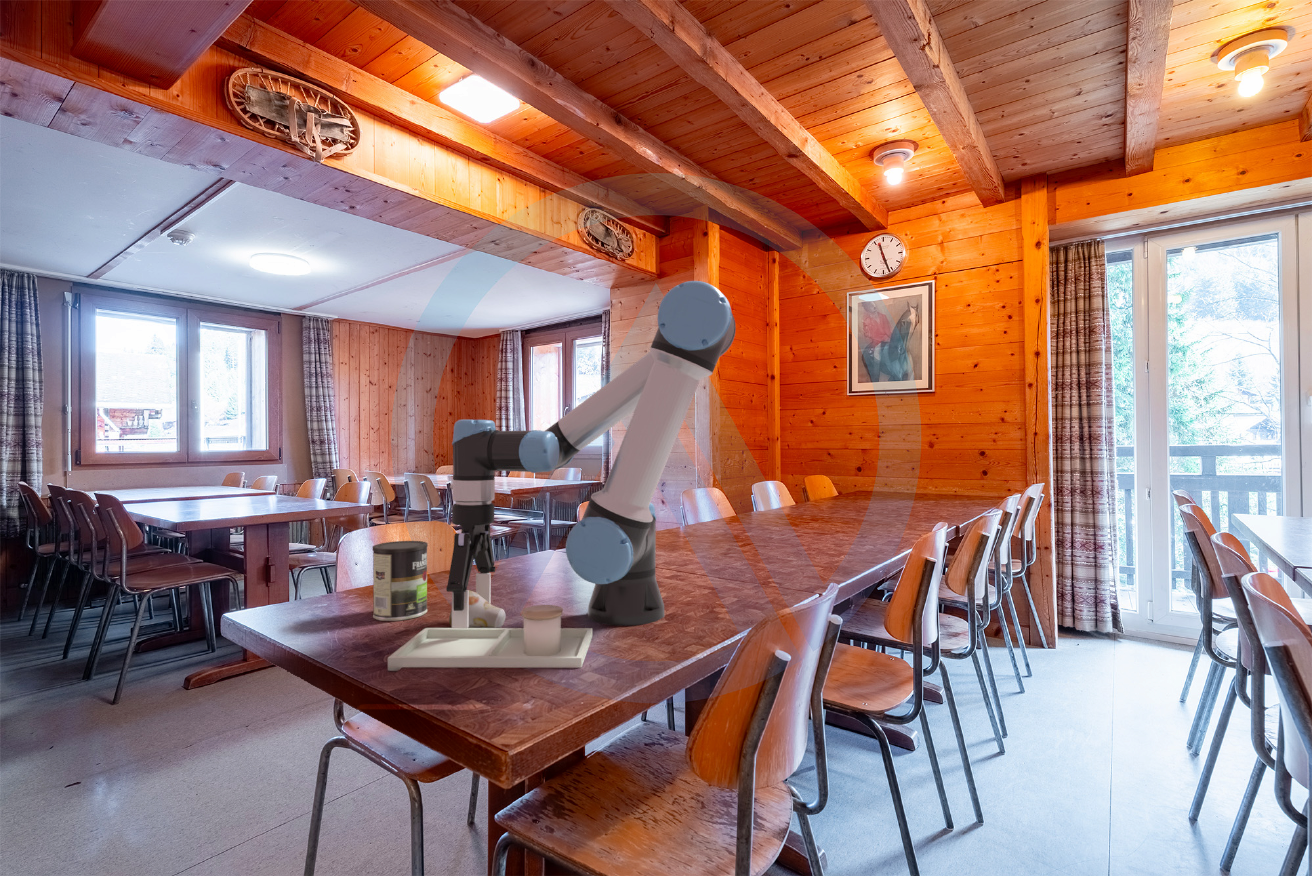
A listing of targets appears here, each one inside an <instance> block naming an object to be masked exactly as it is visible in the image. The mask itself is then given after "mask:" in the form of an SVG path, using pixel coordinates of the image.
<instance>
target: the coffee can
mask: <svg viewBox="0 0 1312 876" xmlns="http://www.w3.org/2000/svg"><path fill="white" fill-rule="evenodd" d="M428 546H429V543H428V542H426V541H421V540H399V541H388V542H382V543H377V544H375V545H373V546H372V551H373V552H372V553H373V554H372V559H373V561H372V562H373V564H372V565H373V567H372V569H373V572H372V573H373V576H372V578H373V579H372V581H373V582H372V583H373V587H372V588H373V593H372V594H373V596H372V597H373V610H372V611H373V612H372V613H373V615H372V618H373V619H374V620H377V621H383V622H398V621H405V620H406V621H407V620H411V619H416V618H420V617H422V616H424V615H426V614H427V613H428Z"/></svg>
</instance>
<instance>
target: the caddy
mask: <svg viewBox="0 0 1312 876" xmlns="http://www.w3.org/2000/svg"><path fill="white" fill-rule="evenodd" d="M592 638H593V628H592V627H584V628H583V627H582V628H581V627H573V628H572V627H563V628H562V627H561V651H560V652H559V653H557V654H555V655H552V656H528V655H526V654H524V627H498V628H487V627H476V628H467V629H459V628H452V627H424V628H423V629H422V630H421V631H420V632H418V633H417V634H416V635H414V636H413V637H412V638H410V640H409V641H406V642H405V644H403V645H402V646H401V647H399V648H398V649H397V650H395V651H394V652H393V653H392V654H391V655H390V656H388V657H387V671H388V672H390V671H391V672H398V671H400V670H401V669H402V668H512V669H513V668H521V669H522V668H523V669H524V668H525V669H526V668H527V669H528V668H531V669H532V668H533V669H534V668H539V669H540V668H543V669H544V668H545V669H546V668H548V669H549V668H555V669H556V668H561V669H562V668H564V669H565V668H566V669H567V668H568V669H569V668H570V669H571V668H573V669H574V668H575V669H577V668H578V669H579V668H580V669H581V668H582V667H583V665H584V661H585V659H586V656H587V653H588V650H589V648H590V645H591V643H592Z"/></svg>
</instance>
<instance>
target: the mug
mask: <svg viewBox="0 0 1312 876" xmlns="http://www.w3.org/2000/svg"><path fill="white" fill-rule="evenodd" d="M468 590H469V627H468V628H502V627H503V625H504V623H505V620H506V616H507V615H506V612H505V610H504V609H503V608H500V607H499V606H496V605H493V604H490V603H488V602H487V601H486V600H485V599H484V598H483V597H481V596H480V595H479V594H477V593H476V591H473V590H471V589H468ZM450 610H451V611H450V612H449V617H448V618H449V619H448V621H449V625H450V626H451V627H452V609H450Z"/></svg>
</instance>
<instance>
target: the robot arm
mask: <svg viewBox="0 0 1312 876" xmlns="http://www.w3.org/2000/svg"><path fill="white" fill-rule="evenodd" d="M657 325H658V327H657V330H656V332H655V335H654V337H653V341H652V342H651V345H650V348H649V352H648V353H646V354H645V355H644V356H642V357H641V358H640V359H638V360H637V361H636V362H635V363H633V364H632V365H630V366H629V367H628V368H627V369H625V370H624V371H622V372H621V373H620V374H618V375H617V376H616V377H615V378H613V379H611V381H609V382H608V383H607V384H605V385H604V386H602V387H601V388H600V389H598V390H597V391H595V392H594V393H593V394H591V395H590V396H589V397H588V398H586V399H585V400H584V401H582V402H581V403H580V404H579V405H576V407H574V408H573V409H572V410H570V411H569V412H568V413H567V414H565V415H563V417H561V418H559V420H557V422H555V423H553V424H552V425H550V427H548V428H547V429H545V430H539V429H538V430H537V429H535V430H497V428H496V422H495V421H493V420H491V419H458V420H457V421H455V422H454V426H453V435H452V442H451V445H452V473H453V474H452V483H451V484H450V486H449V488H450V489H451V490H452V501H453V502H455V503H454V504H452V506H451V508H452V509H451V511H452V512H451V513H452V514H451V522H452V524H453V525H456V526H460V527H461V532H460V533H459V532H458V533H454V536H453V537H454V539H453V549H452V550H453V551H452V555H451V562H450V566H449V567H450V568H449V573H448V580H447V585H446V588H445V589H446V590H445V591H446V592H447V593H448V592H451V610H452V626H451V628H459V629H467V628H468V627H469V590H470V589H468V585H469V582H470V581H469V580H470V576H471V573H472V568H473V564H474V563H475V565H476V569H477V571H478V572H476V574H475V592H476V593H477V594H479V595H480V596H481V597H483V598H484V599H485V600H486V601H487V602H488V603H490V604H491V599H492V597H491V595H492V592H491V591H492V588H491V587H492V586H491V585H492V582H491V581H492V578H491V577H492V573H495V572H496V566H495V560H494V559H495V558H494V552H493V551H494V550H493V546H492V545H493V544H492V537H491V525H492V524H493V523H494V521H495V504H494V503H493V502H492V501H494V500H495V499H496V497H495V496H496V495H495V494H496V492H495V487H496V484H495V482H496V480H495V478H496V477H495V474H496V472H521V473H525V472H526V473H527V472H528V473H532V474H536V473H546V472H548V473H549V472H552V471H553V470H557V469H561V468H563V467H565V466H567V465H569V464H570V463H571V462H572V460H573V459H574V457H575V455H577V454H578V453H579V452H580V451H582V450H583V449H585V448H586V447H587V446H588V445H590V444H591V443H593V442H594V441H596V439H598V438H599V437H600V436H602V435H603V434H605V433H606V432H608V431H609V430H610V429H612V428H613V427H615V426H616V425H618V424H619V423H620V422H621V421H623V420H624V419H625V418H627V417H628V416H630V415H631V414H632V413H633V414H632V416H631V419H630V422H629V423H628V427H627V428H626V432H625V434H624V436H623V438H622V439H623V440H622V441H621V444H620V446H619V449H618V451H617V454H616V456H615V459H614V461H613V464H612V467H611V469H610V472H609V474H608V477H607V479H606V481H605V484H604V486H603V488H602V489H601V490H599V491H596V492H593V493H591V495H590V498H589V501H588V503H587V506H586V508H585V510H584V512H583V516H582V519H580V520H579V521H577V522H576V524H574V525H573V527H572V528H571V530H570V531H569V533H568V535H567V538H566V543H565V554H566V558H567V561H568V563H569V565H570V568H571V569H572V570H573V571H574V572H575V574H576V575H578V577H580V578H581V579H582V580H584V581H586V582H588V583H591V584H594V587H593V590H592V594H591V597H590V600H589V603H588V607H587V611H588V612H587V613H588V619H590V621H593V622H595V623H598V624H603V625H608V626H622V627H628V626H629V627H630V626H631V627H633V626H642V625H647V624H652V623H655V622H657V621H660V620H661V619H663V618H665V602H664V601H663V597H662V594H661V591H660V588H659V585H658V582H657V581H658V580H657V579H656V577H657V576H656V549H657V548H656V543H657V542H656V540H657V539H656V533H657V532H656V530H657V529H656V522H657V515H656V507H655V504H654V503H652V499H653V497H654V495H655V492H656V489H657V487H658V485H659V483H660V481H661V479H662V478H661V477H662V475H663V472H664V470H665V467H666V465H667V462H668V460H669V457H670V455H671V454H672V450H673V448H674V446H675V443H676V441H677V439H678V436H679V433H680V431H681V429H682V426H683V423H684V421H685V419H686V416H687V414H688V411H689V409H690V408H691V407H690V406H691V404H692V401H693V399H694V396H695V394H696V391H697V389H698V387H699V384H700V382H701V381H702V380H703V379H705V378H707V377H709V376H712V375H713V373H714V370H715V368H716V366H717V363H718V361H719V360H720V359H719V358H720V357H722V356H723V355H724V354H725V353H727V351H728V350H729V349H730V347H731V346H732V344H733V342H734V339H735V336H736V330H737V329H736V328H737V327H736V320H735V317H734V314H733V313H732V308H731V305H730V302H729V300H728V299H727V297H726V296H725V295H724V293H723V292H721V291H720V289H718V288H717V287H715V286H714V285H712V284H710V283H707V282H705V281H700V280H690V281H689V280H688V281H684V282H682V283H680V284H678V285H675V286H674V287H672V288H671V289H669V291H668V292H666V294H665V295H664V297H663V298H662V300H661V302H660V304H659V307H658V311H657ZM490 524H491V525H490ZM491 605H492V604H491Z"/></svg>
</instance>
